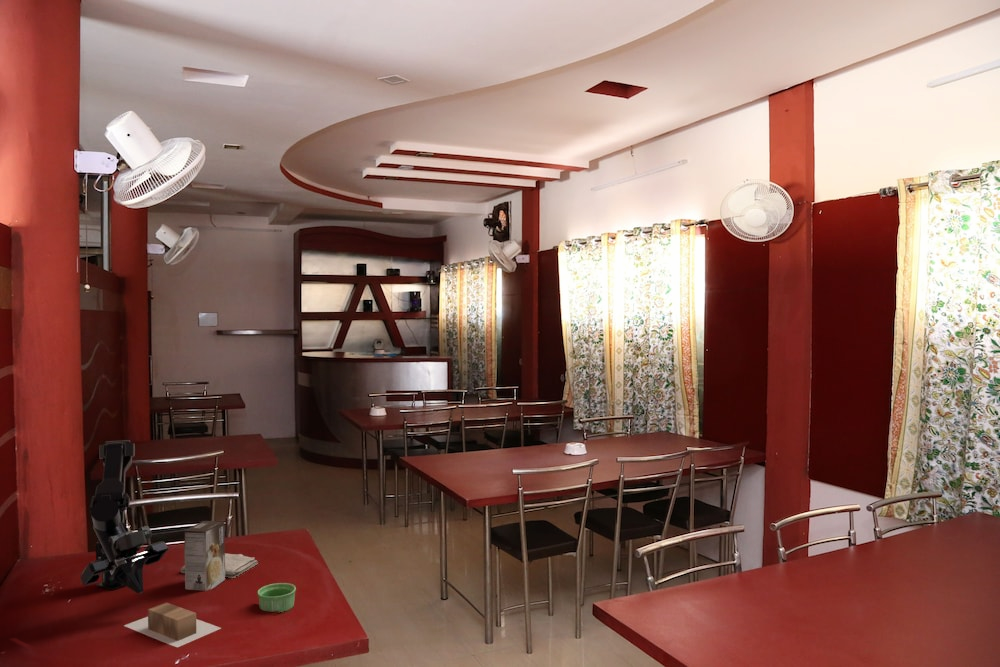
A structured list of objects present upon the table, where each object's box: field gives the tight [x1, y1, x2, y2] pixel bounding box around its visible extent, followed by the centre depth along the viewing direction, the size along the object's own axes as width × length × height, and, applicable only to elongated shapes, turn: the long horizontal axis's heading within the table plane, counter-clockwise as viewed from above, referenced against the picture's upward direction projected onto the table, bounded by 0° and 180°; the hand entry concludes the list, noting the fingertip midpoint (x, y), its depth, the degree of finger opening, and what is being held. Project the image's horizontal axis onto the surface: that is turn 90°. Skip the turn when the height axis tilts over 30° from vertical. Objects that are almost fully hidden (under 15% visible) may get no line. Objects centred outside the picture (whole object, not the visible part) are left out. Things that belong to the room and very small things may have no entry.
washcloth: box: [180, 552, 259, 579], centre depth 199 cm, size 12×18×3 cm, turn 77°
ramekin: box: [257, 582, 297, 614], centre depth 173 cm, size 9×9×4 cm
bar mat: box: [123, 616, 222, 648], centre depth 160 cm, size 20×11×1 cm, turn 58°
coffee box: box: [183, 520, 226, 592], centre depth 186 cm, size 9×6×16 cm
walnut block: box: [147, 602, 197, 641], centre depth 158 cm, size 4×4×11 cm
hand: (141, 592), depth 165 cm, fingers closed
